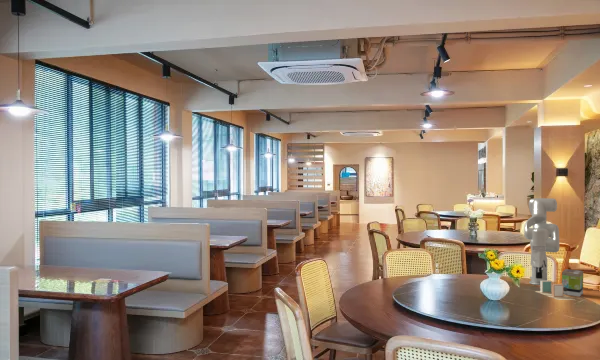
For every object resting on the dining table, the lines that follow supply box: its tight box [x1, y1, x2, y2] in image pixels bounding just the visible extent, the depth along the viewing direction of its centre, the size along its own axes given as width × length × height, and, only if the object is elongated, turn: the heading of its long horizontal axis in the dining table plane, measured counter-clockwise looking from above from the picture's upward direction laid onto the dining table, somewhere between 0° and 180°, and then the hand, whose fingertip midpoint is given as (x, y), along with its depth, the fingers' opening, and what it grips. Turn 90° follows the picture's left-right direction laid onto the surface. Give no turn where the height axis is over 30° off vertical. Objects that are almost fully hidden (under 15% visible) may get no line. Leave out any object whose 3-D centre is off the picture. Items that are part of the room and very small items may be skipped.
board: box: [534, 290, 576, 301], centre depth 271 cm, size 22×11×1 cm, turn 5°
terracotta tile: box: [552, 283, 563, 297], centre depth 268 cm, size 2×6×7 cm, turn 95°
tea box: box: [561, 268, 584, 297], centre depth 278 cm, size 15×10×15 cm, turn 143°
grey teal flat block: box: [539, 279, 553, 293], centre depth 279 cm, size 2×6×7 cm, turn 95°
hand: (538, 278), depth 286 cm, fingers closed
